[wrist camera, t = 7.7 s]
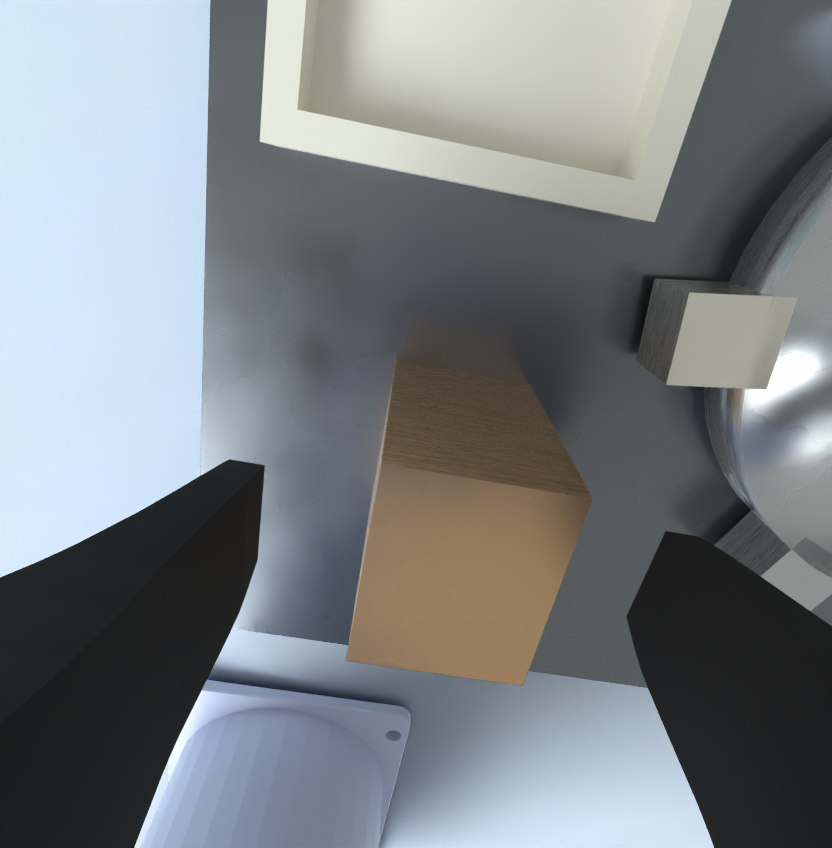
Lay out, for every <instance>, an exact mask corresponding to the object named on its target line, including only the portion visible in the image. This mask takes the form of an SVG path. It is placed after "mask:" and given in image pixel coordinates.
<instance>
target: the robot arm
mask: <svg viewBox="0 0 832 848" xmlns="http://www.w3.org/2000/svg"><path fill="white" fill-rule="evenodd" d="M264 470H265V465H261V464H255V463H249V462H243V461H237V460H231V459H229V460H227V461H225V462H223V463H221V464H220V465H218V466H216V467H214V468H213V469H211V470H209V471H208V472H206V473H204V474H203V475H201V476H199V477H198V478H196V479H194V480H193V481H191V482H189V483H188V484H186V485H184V486H183V487H181V488H179V489H178V490H176V491H174V492H172V493H171V494H169V495H167V496H166V497H164V498H162V499H160V500H159V501H157V502H155V503H153V504H152V505H150V506H148V507H146V508H145V509H143V510H141V511H139V512H138V513H136V514H134V515H132V516H130V517H128V518H126V519H124V520H122V521H120V522H118V523H116V524H114V525H112V526H111V527H109V528H107V529H105V530H103V531H101V532H99V533H97V534H95V535H93V536H91V537H89V538H87V539H85V540H83V541H81V542H80V543H78V544H76V545H73V546H71V547H69V548H67V549H65V550H63V551H61V552H59V553H56V554H54V555H52V556H50V557H48V558H45V559H43V560H41V561H39V562H36V563H34V564H32V565H29V566H27V567H25V568H22V569H20V570H17V571H15V572H13V573H10V574H8V575H5V576H3V577H1V578H0V848H134V846H135V844H136V841H137V839H138V836H139V833H140V831H141V828H142V826H143V823H144V820H145V818H146V815H147V813H148V810H149V807H150V805H151V802H152V800H153V797H154V794H155V792H156V789H157V787H158V784H159V781H160V779H161V776H162V774H163V771H164V769H165V767H166V764H167V762H168V784H167V787H166V789H165V791H164V794H163V796H162V799H161V801H160V803H159V806H158V808H157V810H156V813H155V815H154V817H153V820H152V822H151V825H150V827H149V829H148V832H147V834H146V836H145V839H144V841H143V843H142V846H141V848H379V843H380V839H381V836H382V832H383V828H384V824H385V821H386V817H387V813H388V809H389V806H390V802H391V798H392V794H393V791H394V787H395V783H396V779H397V776H398V772H399V768H400V764H401V761H402V757H403V753H404V749H405V746H406V742H407V738H408V734H409V731H410V727H411V714H410V712H409V711H408V710H407V709H405V708H404V707H401V706H396V705H389V704H381V703H374V702H367V701H359V700H352V699H345V698H337V697H330V696H323V695H315V694H308V693H300V692H293V691H286V690H278V689H271V688H264V687H256V686H249V685H242V684H234V683H227V682H220V681H212V680H207V678H208V676H209V674H210V672H211V670H212V668H213V666H214V664H215V662H216V660H217V658H218V656H219V654H220V652H221V650H222V648H223V646H224V644H225V642H226V639H227V637H228V635H229V633H230V631H231V629H232V627H233V625H234V623H235V621H236V619H237V617H238V614H239V612H240V610H241V607H242V604H243V601H244V598H245V596H246V593H247V590H248V587H249V584H250V581H251V578H252V575H253V572H254V569H255V566H256V563H257V560H258V549H259V536H260V523H261V510H262V497H263V484H264ZM626 617H627V621H628V625H629V629H630V633H631V637H632V641H633V645H634V648H635V652H636V655H637V658H638V662H639V665H640V669H641V672H642V674H643V677H644V679H645V682H646V684H647V687H648V689H649V691H650V694H651V696H652V698H653V701H654V703H655V706H656V708H657V710H658V713H659V715H660V718H661V720H662V722H663V725H664V727H665V729H666V732H667V734H668V736H669V739H670V741H671V743H672V745H673V748H674V750H675V752H676V755H677V757H678V759H679V762H680V764H681V766H682V769H683V771H684V773H685V776H686V778H687V780H688V783H689V785H690V787H691V790H692V792H693V794H694V797H695V799H696V801H697V804H698V806H699V809H700V811H701V814H702V816H703V819H704V822H705V824H706V827H707V829H708V832H709V834H710V837H711V840H712V843H713V846H714V848H832V626H831V625H829V624H828V623H827V622H825V621H824V620H822V619H821V618H819V617H818V616H816V615H815V614H814V613H812V612H811V611H809V610H808V609H806V608H805V607H804V606H802V605H801V604H799V603H798V602H796V601H795V600H794V599H792V598H791V597H789V596H788V595H786V594H785V593H784V592H782V591H781V590H779V589H778V588H776V587H775V586H774V585H772V584H771V583H769V582H768V581H766V580H765V579H764V578H762V577H761V576H759V575H758V574H756V573H755V572H754V571H752V570H751V569H749V568H748V567H746V566H745V565H743V564H742V563H740V562H739V561H737V560H736V559H734V558H733V557H731V556H730V555H728V554H727V553H725V552H724V551H722V550H721V549H719V548H717V547H716V546H714V545H712V544H711V543H709V542H707V541H706V540H704V539H702V538H700V537H698V536H693V535H687V534H681V533H675V532H669V531H665V533H664V536H663V538H662V540H661V542H660V544H659V546H658V549H657V551H656V553H655V555H654V557H653V559H652V562H651V564H650V566H649V568H648V570H647V573H646V575H645V577H644V579H643V581H642V583H641V586H640V588H639V590H638V592H637V594H636V596H635V599H634V601H633V603H632V605H631V607H630V610H629V612H628V614H627V616H626Z"/></svg>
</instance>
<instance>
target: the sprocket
mask: <svg viewBox="0 0 832 848" xmlns="http://www.w3.org/2000/svg"><path fill="white" fill-rule="evenodd" d="M636 361H637V362H638V363H640V364H641V365H642V366H643V367H645V368H646V369H647V370H648V371H649V372H651V373H652V374H653V375H654V376H656V377H657V378H658V379H659V380H660V381H662V382H663V383H664V384H665V385H676V386H698V387H704V401H705V414H706V423H707V428H708V432H709V436H710V440H711V444H712V449H713V451H714V453H715V456H716V458H717V461H718V463H719V465H720V468H721V470H722V472H723V474H724V476H725V477H726V479H727V480H728V482H729V483H730V485H731V487H732V488H733V490H734V491H735V493H736V494H737V496H738V497H739V498H740V499H741V500H742V501H743V502H744V503H745V504H746V505H747V506H748V507H749V508H750V510H751V511H750V512H749V513H748V514H747V515H746V516H745V517H744V518H743V519H741V520H740V521H739V522H738V523H737V524H736V525H735V526H734V527H733V528H732V529H731V530H730V531H729V532H728V533H727V534H725V535H724V536H723V537H722V538H721V539H720V540H719V541H718V542H717V543H716V544H715V545H714V546H716V547H717V548H719V549H721V550H722V551H724V552H725V553H727V554H728V555H730V556H731V557H733V558H734V559H736V560H737V561H739V562H740V563H742V564H743V565H745V566H746V567H748V568H749V569H751V570H752V571H754V572H755V573H756V574H758V575H759V576H761V577H762V578H764V579H765V580H766V581H768V582H769V583H771V584H772V585H774V586H775V587H776V588H778V589H779V590H781V591H782V592H784V593H785V594H786V595H788V596H789V597H791V598H792V599H794V600H795V601H796V602H798V603H799V604H801V605H802V606H804V607H805V608H806V609H808V610H809V611H811V610H813V609H814V608H815V607H816V606H818V605H819V604H820V603H821V602H823V601H824V600H825V599H826V598H827V597H829V596H830V595H831V594H832V137H831V138H830V139H829V140H828V141H827V142H826V143H825V144H824V145H823V146H822V147H821V148H820V149H819V151H818V152H817V153H816V154H815V155H814V156H813V157H812V158H811V159H810V160H809V161H808V162H807V163H806V164H805V166H804V167H803V168H802V169H801V170H800V171H799V172H798V173H797V174H796V175H795V177H794V178H793V179H792V181H791V182H790V183H789V185H788V186H787V187H786V188H785V190H784V191H783V192H782V194H781V195H780V196H779V198H778V199H777V200H776V202H775V203H774V204H773V205H772V207H771V208H770V209H769V211H768V212H767V214H766V215H765V217H764V218H763V220H762V222H761V223H760V225H759V227H758V228H757V230H756V231H755V233H754V235H753V236H752V238H751V240H750V241H749V243H748V244H747V246H746V248H745V249H744V251H743V253H742V255H741V257H740V260H739V262H738V264H737V266H736V268H735V270H734V272H733V274H732V276H731V278H730V280H729V282H716V281H695V280H675V279H654V283H653V287H652V292H651V296H650V301H649V305H648V310H647V314H646V319H645V323H644V327H643V332H642V336H641V341H640V345H639V350H638V354H637V359H636Z"/></svg>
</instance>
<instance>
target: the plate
mask: <svg viewBox="0 0 832 848" xmlns="http://www.w3.org/2000/svg"><path fill="white" fill-rule="evenodd" d="M267 5H268V0H211V5H210V51H209V97H208V143H207V189H206V235H205V281H204V327H203V373H202V419H201V465H200V476H201V475H203V474H204V473H206V472H208V471H209V470H211V469H213V468H214V467H216V466H218V465H220V464H221V463H223V462H225V461H227V460H229V459H231V460H237V461H243V462H249V463H255V464H261V465H265V470H264V484H263V497H262V510H261V523H260V536H259V549H258V560H257V563H256V566H255V569H254V572H253V575H252V578H251V581H250V584H249V587H248V590H247V593H246V596H245V598H244V601H243V604H242V607H241V610H240V612H239V614H238V617H237V619H236V621H235V623H234V625H233V627H232V628H233V629H240V630H247V631H254V632H261V633H268V634H275V635H282V636H289V637H296V638H303V639H310V640H317V641H324V642H331V643H338V644H345V645H348V644H349V638H350V631H351V625H352V619H353V612H354V606H355V600H356V593H357V587H358V581H359V574H360V568H361V562H362V555H363V549H364V543H365V536H366V530H367V523H368V517H369V511H370V504H371V499H372V493H373V487H374V482H375V476H376V471H377V465H378V459H379V454H380V448H381V442H382V437H383V431H384V425H385V420H386V414H387V408H388V403H389V397H390V391H391V386H392V380H393V374H394V369H395V363H396V360H397V361H403V362H408V363H414V364H419V365H425V366H430V367H436V368H442V369H447V370H453V371H458V372H464V373H469V374H475V375H480V376H486V377H492V378H497V379H503V380H508V381H514V382H519V383H525V384H530V385H531V387H532V389H533V390H534V392H535V394H536V396H537V398H538V400H539V401H540V403H541V405H542V407H543V409H544V410H545V412H546V414H547V416H548V418H549V420H550V421H551V423H552V425H553V427H554V429H555V430H556V432H557V434H558V436H559V438H560V440H561V441H562V443H563V445H564V447H565V449H566V450H567V452H568V454H569V456H570V458H571V460H572V461H573V463H574V465H575V467H576V469H577V470H578V472H579V474H580V476H581V478H582V480H583V481H584V483H585V485H586V487H587V489H588V491H589V492H590V494H591V496H592V498H593V500H592V503H591V505H590V508H589V511H588V513H587V516H586V519H585V521H584V524H583V527H582V529H581V532H580V535H579V537H578V540H577V543H576V545H575V548H574V550H573V553H572V556H571V558H570V561H569V564H568V566H567V569H566V572H565V574H564V577H563V580H562V582H561V585H560V588H559V590H558V593H557V596H556V598H555V601H554V604H553V606H552V609H551V612H550V614H549V617H548V620H547V622H546V625H545V628H544V630H543V633H542V636H541V638H540V641H539V644H538V646H537V649H536V651H535V654H534V657H533V659H532V662H531V665H530V667H529V670H528V671H534V672H541V673H548V674H555V675H562V676H569V677H576V678H583V679H590V680H597V681H604V682H611V683H618V684H625V685H632V686H639V687H646V688H648V687H647V684H646V682H645V679H644V677H643V674H642V672H641V669H640V665H639V662H638V658H637V655H636V652H635V648H634V645H633V641H632V637H631V633H630V629H629V625H628V621H627V617H626V616H627V614H628V612H629V610H630V607H631V605H632V603H633V601H634V599H635V596H636V594H637V592H638V590H639V588H640V586H641V583H642V581H643V579H644V577H645V575H646V573H647V570H648V568H649V566H650V564H651V562H652V559H653V557H654V555H655V553H656V551H657V549H658V546H659V544H660V542H661V540H662V538H663V536H664V533H665V531H669V532H675V533H681V534H687V535H693V536H698V537H700V538H702V539H704V540H706V541H707V542H709V543H711V544H712V545H715V544H716V543H717V542H718V541H719V540H720V539H721V538H722V537H723V536H724V535H725V534H727V533H728V532H729V531H730V530H731V529H732V528H733V527H734V526H735V525H736V524H737V523H738V522H739V521H740V520H741V519H743V518H744V517H745V516H746V515H747V514H748V513H749V512H750V511H751V510H750V508H749V507H748V506H747V505H746V504H745V503H744V502H743V501H742V500H741V499H740V498H739V497H738V496H737V494H736V493H735V491H734V490H733V488H732V487H731V485H730V483H729V482H728V480H727V479H726V477H725V476H724V474H723V472H722V470H721V468H720V465H719V463H718V461H717V458H716V456H715V453H714V451H713V449H712V444H711V440H710V436H709V432H708V428H707V423H706V414H705V401H704V387H698V386H676V385H665V384H664V383H663V382H662V381H660V380H659V379H658V378H657V377H656V376H654V375H653V374H652V373H651V372H649V371H648V370H647V369H646V368H645V367H643V366H642V365H641V364H640V363H638V362H637V361H636V359H637V354H638V350H639V345H640V341H641V336H642V332H643V327H644V323H645V319H646V314H647V310H648V305H649V301H650V296H651V292H652V287H653V283H654V279H675V280H695V281H716V282H729V280H730V278H731V276H732V274H733V272H734V270H735V268H736V266H737V264H738V262H739V260H740V257H741V255H742V253H743V251H744V249H745V248H746V246H747V244H748V243H749V241H750V240H751V238H752V236H753V235H754V233H755V231H756V230H757V228H758V227H759V225H760V223H761V222H762V220H763V218H764V217H765V215H766V214H767V212H768V211H769V209H770V208H771V207H772V205H773V204H774V203H775V202H776V200H777V199H778V198H779V196H780V195H781V194H782V192H783V191H784V190H785V188H786V187H787V186H788V185H789V183H790V182H791V181H792V179H793V178H794V177H795V175H796V174H797V173H798V172H799V171H800V170H801V169H802V168H803V167H804V166H805V164H806V163H807V162H808V161H809V160H810V159H811V158H812V157H813V156H814V155H815V154H816V153H817V152H818V151H819V149H820V148H821V147H822V146H823V145H824V144H825V143H826V142H827V141H828V140H829V139H830V138H831V137H832V0H732V1H731V4H730V7H729V10H728V13H727V15H726V18H725V21H724V24H723V27H722V30H721V33H720V36H719V39H718V41H717V44H716V47H715V50H714V53H713V56H712V59H711V62H710V65H709V67H708V70H707V73H706V76H705V79H704V82H703V85H702V88H701V91H700V93H699V96H698V99H697V102H696V105H695V108H694V111H693V114H692V117H691V119H690V122H689V125H688V128H687V131H686V134H685V137H684V140H683V143H682V145H681V148H680V151H679V154H678V157H677V160H676V163H675V166H674V169H673V172H672V174H671V177H670V180H669V183H668V186H667V189H666V192H665V195H664V198H663V200H662V203H661V206H660V209H659V212H658V215H657V218H656V221H655V222H650V221H643V220H637V219H631V218H625V217H620V216H615V215H610V214H606V213H601V212H596V211H591V210H586V209H581V208H576V207H571V206H566V205H561V204H557V203H552V202H547V201H542V200H537V199H532V198H527V197H522V196H517V195H512V194H508V193H503V192H498V191H493V190H488V189H483V188H478V187H473V186H468V185H464V184H459V183H454V182H449V181H444V180H439V179H434V178H429V177H424V176H419V175H415V174H410V173H405V172H400V171H395V170H390V169H385V168H380V167H375V166H370V165H366V164H361V163H356V162H351V161H346V160H341V159H336V158H331V157H326V156H322V155H317V154H312V153H307V152H302V151H297V150H292V149H287V148H282V147H278V146H274V145H271V144H267V143H263V142H260V128H261V110H262V93H263V75H264V58H265V40H266V23H267ZM811 612H812V613H814V614H815V615H816V616H818V617H819V618H821V619H822V620H824V621H825V622H827V623H828V624H829V625H831V626H832V594H831V595H830V596H829V597H827V598H826V599H825V600H824V601H823V602H821V603H820V604H819V605H818V606H816V607H815V608H814V609H813V610H811Z"/></svg>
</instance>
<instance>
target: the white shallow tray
mask: <svg viewBox="0 0 832 848" xmlns="http://www.w3.org/2000/svg"><path fill="white" fill-rule="evenodd" d="M731 1H732V0H268V5H267V23H266V40H265V58H264V75H263V93H262V110H261V128H260V142H263V143H267V144H271V145H274V146H278V147H282V148H287V149H292V150H297V151H302V152H307V153H312V154H317V155H322V156H326V157H331V158H336V159H341V160H346V161H351V162H356V163H361V164H366V165H370V166H375V167H380V168H385V169H390V170H395V171H400V172H405V173H410V174H415V175H419V176H424V177H429V178H434V179H439V180H444V181H449V182H454V183H459V184H464V185H468V186H473V187H478V188H483V189H488V190H493V191H498V192H503V193H508V194H512V195H517V196H522V197H527V198H532V199H537V200H542V201H547V202H552V203H557V204H561V205H566V206H571V207H576V208H581V209H586V210H591V211H596V212H601V213H606V214H610V215H615V216H620V217H625V218H631V219H637V220H643V221H650V222H655V221H656V218H657V215H658V212H659V209H660V206H661V203H662V200H663V198H664V195H665V192H666V189H667V186H668V183H669V180H670V177H671V174H672V172H673V169H674V166H675V163H676V160H677V157H678V154H679V151H680V148H681V145H682V143H683V140H684V137H685V134H686V131H687V128H688V125H689V122H690V119H691V117H692V114H693V111H694V108H695V105H696V102H697V99H698V96H699V93H700V91H701V88H702V85H703V82H704V79H705V76H706V73H707V70H708V67H709V65H710V62H711V59H712V56H713V53H714V50H715V47H716V44H717V41H718V39H719V36H720V33H721V30H722V27H723V24H724V21H725V18H726V15H727V13H728V10H729V7H730V4H731Z"/></svg>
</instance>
